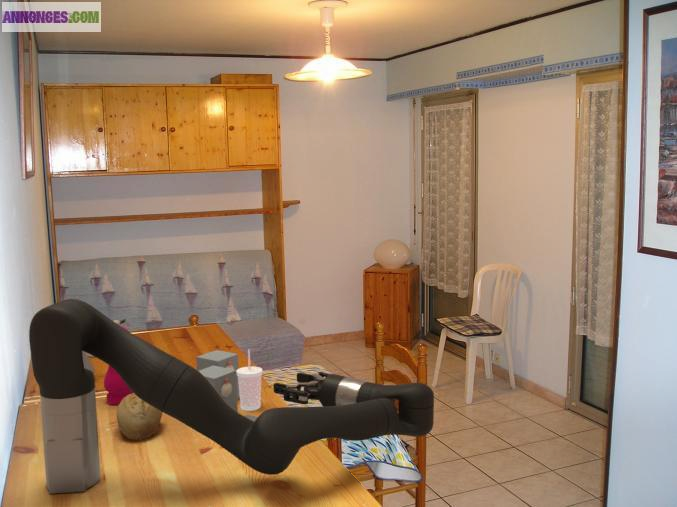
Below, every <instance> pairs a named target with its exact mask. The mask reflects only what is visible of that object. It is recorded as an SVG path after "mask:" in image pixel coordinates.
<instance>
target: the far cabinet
mask: <svg viewBox="0 0 677 507" xmlns="http://www.w3.org/2000/svg"><path fill="white" fill-rule="evenodd" d="M213 365H214V366H218V367H223V368H228V369H233V370H238V369H239V368H240V367H239V354H238V353H233V352H231V351H230V352H229V351H224V350H219V349H216V350H213V351H210V352H207V353H204V354H201V355H198V356H196V370H198V371H199V370H202V369H205V368H208V367H210V366H213ZM236 374H237V372H236ZM238 399H240V393H239V383H238V376H237V400H238Z"/></svg>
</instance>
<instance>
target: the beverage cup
mask: <svg viewBox="0 0 677 507" xmlns="http://www.w3.org/2000/svg"><path fill="white" fill-rule="evenodd" d="M247 361H248V362H247V365H248V366H243V367H239V369H238V370H236V372H237V376H238V383H239V403H240V409H241V410H243V411H249V412H250V411H256V410H259V409H260V408H261V394H262V376H263V372H264V371H263V368H262V367H259V366H251V349H250V348H248V349H247Z"/></svg>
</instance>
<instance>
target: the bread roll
mask: <svg viewBox="0 0 677 507" xmlns="http://www.w3.org/2000/svg"><path fill="white" fill-rule="evenodd" d="M162 416H163V412H162V411H160V410H158V409H156V408H155V407H153V406H151V405H149V404H148V403H146V402H144V401H143V400H141V399H140V398H139V397H138V396H136V395H135V394H134V393H133V394H129V395H127V396H126V397H124V398H123V400H122V401H121V402H120V404H119V405H117V408H116V420H117V424H118V427H119V429H120V431H121V432H122V434H123V435H124V437H126V438H128V439H130V440H133V441H142V440H144V439H147V438H149V437H151V435H153V434H154V433H155V432H156V430H157V429H158V427H159V425H160V423H161V420H162Z"/></svg>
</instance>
